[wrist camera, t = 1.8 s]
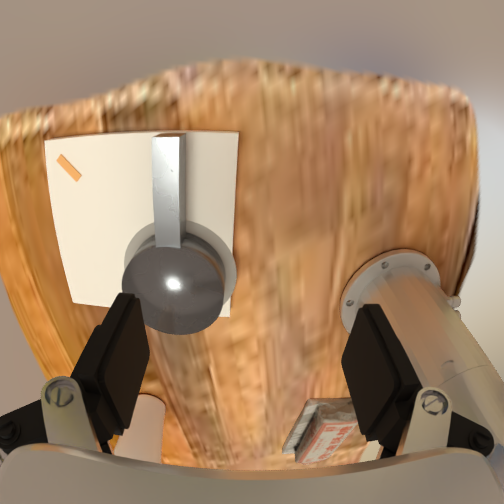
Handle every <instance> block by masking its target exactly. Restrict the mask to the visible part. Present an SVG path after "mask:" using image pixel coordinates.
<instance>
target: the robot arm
mask: <svg viewBox="0 0 504 504" xmlns="http://www.w3.org/2000/svg"><path fill="white" fill-rule="evenodd" d="M440 284H441V283H440V275H439V272H438V269H437V268H436V266H435V265H434V263H433V262H432V261H431V260H430V259H429V258H428V257H427V256H426V255H424V254H423V253H421V252H418V251H415V250H410V249H399V250H393V251H389V252H386V253H383V254H381V255H379V256H377V257H375V258H373V259H372V260H370V261H369V262H368V263H366V264H365V265H363V266H362V267H361V268H360V269H359V270H358V271H357V272H356V273H355V274H354V276H353V277H352V278H351V279H350V281H349V282H348V284H347V286H346V288H345V289H344V291H343V294H342V297H341V301H340V317H341V320H342V323H343V325H344V327H345V329H346V331H347V332H348V333H349V334H350V336H349V339H348V341H347V344H346V347H345V350H344V353H343V355H342V360H341V363H342V368H343V371H344V375H345V378H346V382H347V385H348V388H349V392H350V395H351V399H352V403H353V406H354V410H355V413H356V417H357V421H358V424H359V428H360V432H361V434H362V435H365V436H366V440H367V442H368V441H375V440H378V442H379V444H380V445H381V447H380V449H379V452H378V455H377V457H376V460H372V461H367V462H360V463H354V464H347V465H339V466H330V467H321V468H309V469H294V470H265V471H250V470H220V469H205V468H194V467H184V466H175V465H168V464H161V463H154V462H148V461H142V460H137V459H131V458H126V457H121V456H116V455H114V452H113V450H112V447H111V444H110V442H109V440H110V439H112V438H113V434H115V435H120V436H123V433H124V429H129V427H130V424H131V420H132V416H133V412H134V409H135V405H136V401H137V398H138V394H139V391H140V387H141V384H142V380H143V377H144V374H145V370H146V367H147V364H148V360H149V356H150V350H149V345H148V340H147V335H146V330H145V325H144V320H143V314H142V309H141V303H140V299H139V298H136V297H135V294H132V293H121V292H120V293H118V295H117V296H116V298H115V300H114V302H113V304H112V305H111V307H110V309H109V311H108V313H107V315H106V317H105V318H104V320H103V322H102V324H101V325H97V326H96V327H95V329H94V331H93V332H92V334H91V336H90V338H89V340H88V342H87V344H86V346H85V348H84V350H83V352H82V354H81V356H80V358H79V360H78V362H77V364H76V366H75V368H74V370H73V372H72V374H71V376H70V377H66V376H58V377H55V378H52V379H51V380H49V381H48V382H46V384H45V385H44V387H43V388H42V391H41V399H40V400H37V401H35V402H33V403H30V404H28V405H26V406H24V407H21V408H19V409H17V410H14V411H12V412H10V413H7V414H5V415H3V416H1V417H0V504H504V382H503V381H502V379H501V377H500V376H499V374H498V373H497V371H496V370H495V368H494V367H493V365H492V364H491V362H490V361H489V359H488V358H487V356H486V354H485V353H484V352H483V350H482V349H481V347H480V346H479V344H478V343H477V341H476V340H475V339H474V337H473V336H472V334H471V333H470V332H469V330H468V329H467V327H466V326H465V325H464V323H463V322H462V321H461V314H460V312H459V311H458V310H453V309H452V308H454V307H459V306H460V303H461V299H460V297H459V296H449V297H447V295H446V294H445V293H444V292H443V290H442V289H441V288H440Z"/></svg>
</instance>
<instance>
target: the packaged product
mask: <svg viewBox="0 0 504 504" xmlns="http://www.w3.org/2000/svg"><path fill="white" fill-rule="evenodd" d="M356 424H358V421H357V417H356V413H355V410H354V406H353V403H352V399H351V398H336V399H308V400H307V403H306V405H305V407H304V409H303V411H302V412H301V414H300V416H299V417H298V419H297V421H296V423H295V424H294V426H293V428H292V430H291V432H290V433H289V435H288V437H287V439H286V441H285V444H284V446H283V448H282V454H290V453H295V462H296V463H301V464H304V465H306V464H311V463H315V462H318V461H322V460H325V459H327V458H329V457H330V456H331V455H332V454H333V452H334V451H335V450H336V449H337V448H338V447H339V445H340V444H341V443H342V442H343V441H344V439H345V438H346V437H347V436H348V434H349V433H350V432H351V431H352V429H353V428H354V427H355V426H356Z"/></svg>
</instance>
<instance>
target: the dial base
mask: <svg viewBox="0 0 504 504" xmlns="http://www.w3.org/2000/svg"><path fill="white" fill-rule="evenodd" d="M161 133H186V167H185V202H186V232H187V233H191V234H193V235H196V236H198V237H200V238H202V239H203V240H205V241H206V242H208V243H209V244H210V245H211V246H212V247H213V248H214V249H215V250H216V251H217V253H218V254H219V256H220V257H221V259H222V261H223V264H224V267H225V272H226V280H225V290H224V301H223V307H222V310H221V312H220V315H219V317H230V303H231V295H232V293H233V291H234V288H235V284H236V278H237V271H236V264H235V261H234V258H233V255H232V253H233V231H234V211H235V191H236V173H237V156H238V139H239V132H235V131H207V130H158V131H130V132H113V133H99V134H88V135H77V136H68V137H60V138H53V139H49V140H46V141H45V154H46V166H47V175H48V184H49V192H50V199H51V205H52V212H53V218H54V223H55V229H56V234H57V239H58V244H59V249H60V253H61V258H62V262H63V266H64V270H65V274H66V278H67V282H68V285H69V289H70V293H71V296H72V300H73V303H80V304H88V305H96V306H104V307H111V305H112V304H113V302H114V300H115V298H116V296H117V295H118V293H120V292H121V293H122V277H123V274H124V271H125V269H126V267H127V265H128V264H129V262H130V261H131V259H132V257H133V256H134V254H135V253H136V251H137V249H138V248H139V246H140V245H141V244H142V243H143V242H144V241H145V240H146V239H148V238H149V237H151V236H153V235H155V227H154V210H153V188H152V137H154V136H156V135H158V134H161Z"/></svg>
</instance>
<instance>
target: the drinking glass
mask: <svg viewBox="0 0 504 504" xmlns="http://www.w3.org/2000/svg"><path fill="white" fill-rule="evenodd" d="M165 412H166V407H165V404H164V403H163V402H162V401H161V400H160V399H158V398H156V397H154V396H151V395H147V394H140V395H138V398H137V401H136V405H135V409H134V412H133V416H132V420H131V424H130V427H129V429H124V433H123V436H119V438H118V441H117V444H116V446H115V449H114V455H116V456H121V457H126V458H131V459H137V460H142V461H148V462H154V463H161V455H162V439H163V427H164V417H165Z"/></svg>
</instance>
